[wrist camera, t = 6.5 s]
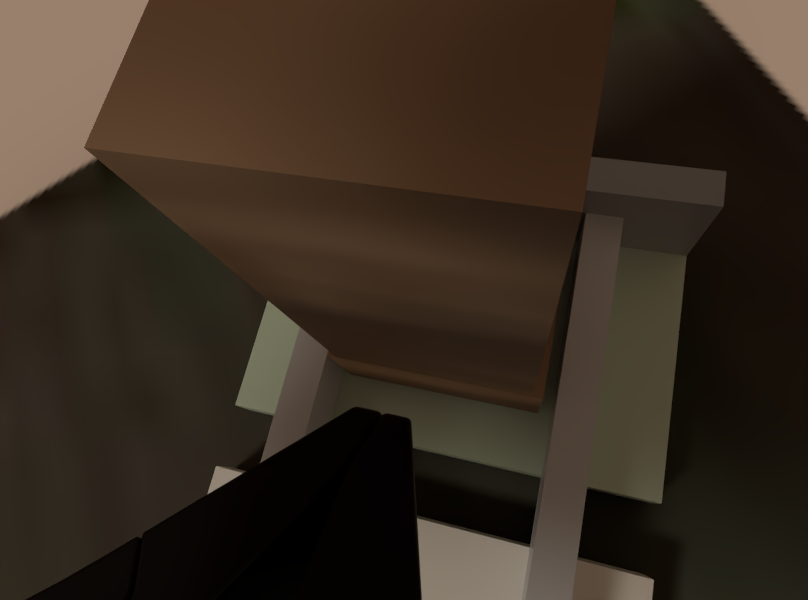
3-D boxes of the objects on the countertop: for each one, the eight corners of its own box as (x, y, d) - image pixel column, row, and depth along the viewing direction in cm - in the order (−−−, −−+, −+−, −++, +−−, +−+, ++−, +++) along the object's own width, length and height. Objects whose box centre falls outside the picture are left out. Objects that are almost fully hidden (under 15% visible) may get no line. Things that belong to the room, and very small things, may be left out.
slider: (537, 413, 13) (614, 215, 4) (351, 374, 14) (64, 143, 5) (564, 249, 14) (672, -202, 5) (390, 224, 15) (215, -192, 6)
